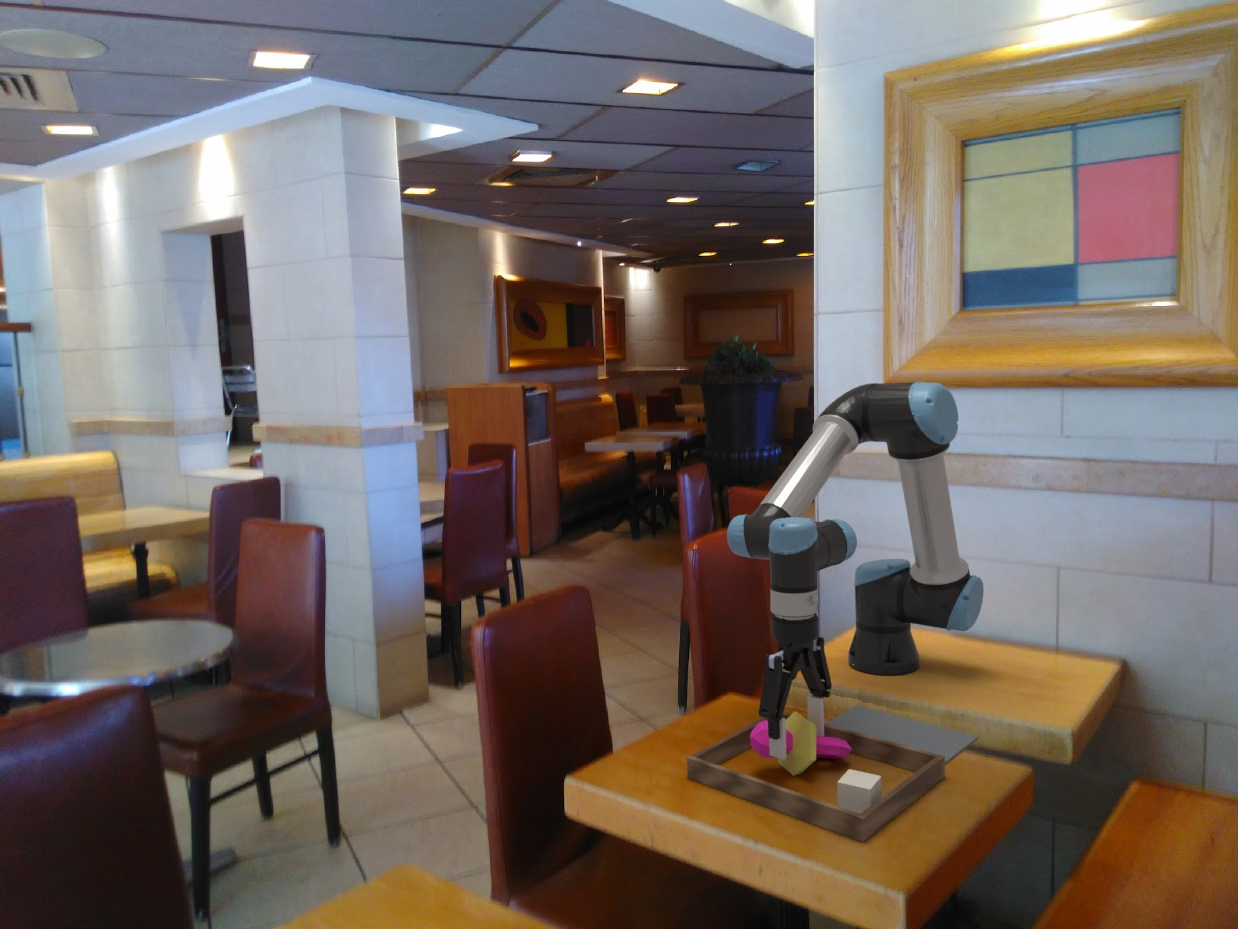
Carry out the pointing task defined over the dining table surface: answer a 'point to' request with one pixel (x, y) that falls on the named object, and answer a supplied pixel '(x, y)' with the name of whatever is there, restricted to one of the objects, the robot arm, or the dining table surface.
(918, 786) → the brown wooden frame
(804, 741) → the toy
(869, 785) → the cream block
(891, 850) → the dining table surface
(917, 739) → the mat
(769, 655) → the robot arm
